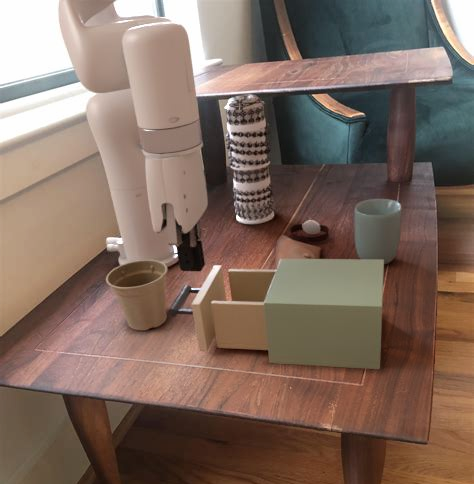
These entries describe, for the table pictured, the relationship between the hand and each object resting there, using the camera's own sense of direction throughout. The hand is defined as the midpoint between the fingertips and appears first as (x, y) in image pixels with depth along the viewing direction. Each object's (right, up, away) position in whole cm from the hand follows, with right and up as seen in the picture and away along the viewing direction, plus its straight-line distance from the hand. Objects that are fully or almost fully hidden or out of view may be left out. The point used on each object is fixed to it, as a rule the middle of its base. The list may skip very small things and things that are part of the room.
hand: (192, 268), depth 77 cm
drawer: (+7, -9, +4) cm, 12 cm away
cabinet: (+19, -10, +1) cm, 22 cm away
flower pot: (-8, -8, +11) cm, 15 cm away
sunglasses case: (+17, +1, +19) cm, 25 cm away
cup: (+31, +3, +19) cm, 37 cm away
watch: (+21, +8, +30) cm, 37 cm away
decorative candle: (+10, +15, +43) cm, 47 cm away
